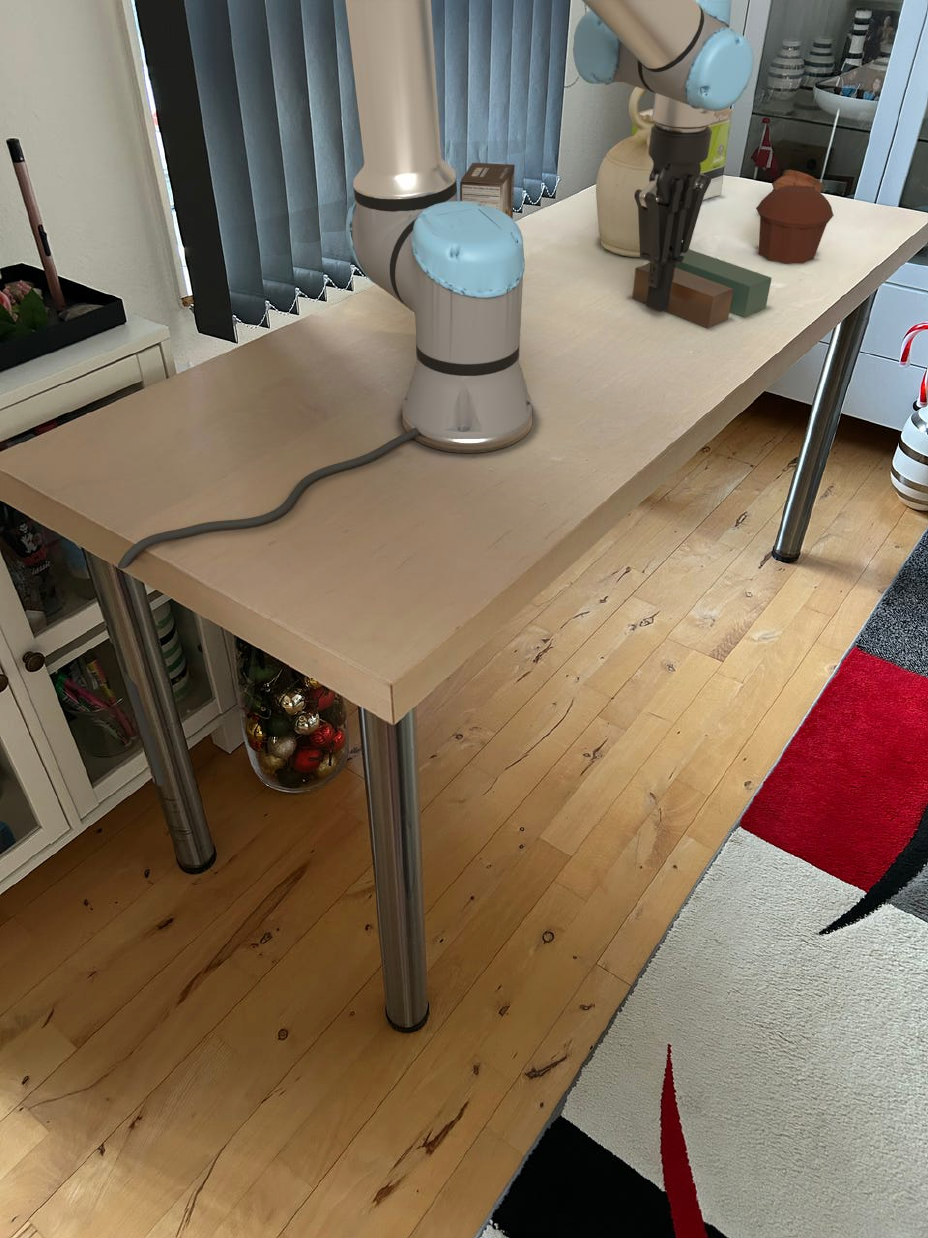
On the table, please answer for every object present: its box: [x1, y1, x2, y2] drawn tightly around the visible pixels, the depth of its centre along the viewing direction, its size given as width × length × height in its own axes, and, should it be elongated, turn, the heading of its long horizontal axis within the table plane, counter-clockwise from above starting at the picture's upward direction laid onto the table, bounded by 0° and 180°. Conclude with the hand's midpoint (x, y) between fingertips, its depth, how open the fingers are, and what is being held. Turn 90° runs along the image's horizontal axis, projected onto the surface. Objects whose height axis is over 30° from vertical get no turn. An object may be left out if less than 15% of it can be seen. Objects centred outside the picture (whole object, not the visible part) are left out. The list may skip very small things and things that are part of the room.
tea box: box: [631, 107, 733, 201], centre depth 178 cm, size 15×10×15 cm, turn 128°
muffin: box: [755, 185, 834, 265], centre depth 158 cm, size 12×11×10 cm
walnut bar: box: [631, 262, 733, 329], centre depth 143 cm, size 4×14×4 cm, turn 41°
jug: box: [595, 86, 656, 258], centre depth 156 cm, size 15×16×25 cm
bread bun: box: [771, 169, 825, 194], centre depth 173 cm, size 12×10×8 cm
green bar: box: [675, 248, 773, 318], centre depth 146 cm, size 5×16×4 cm, turn 41°
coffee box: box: [459, 162, 516, 220], centre depth 146 cm, size 9×6×16 cm
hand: (656, 307), depth 141 cm, fingers closed
